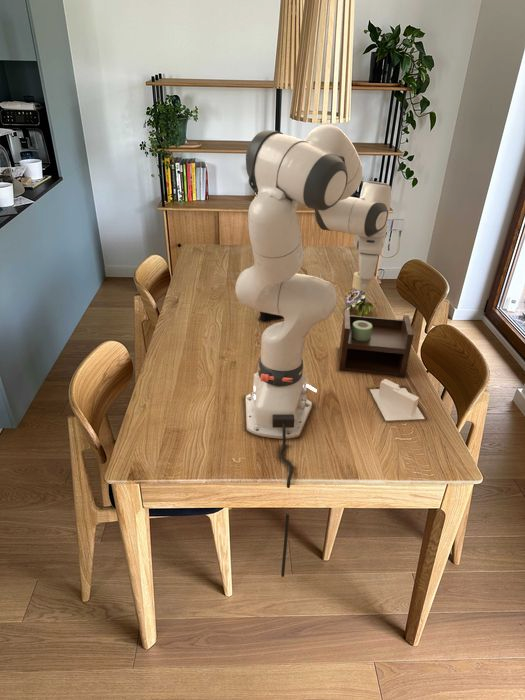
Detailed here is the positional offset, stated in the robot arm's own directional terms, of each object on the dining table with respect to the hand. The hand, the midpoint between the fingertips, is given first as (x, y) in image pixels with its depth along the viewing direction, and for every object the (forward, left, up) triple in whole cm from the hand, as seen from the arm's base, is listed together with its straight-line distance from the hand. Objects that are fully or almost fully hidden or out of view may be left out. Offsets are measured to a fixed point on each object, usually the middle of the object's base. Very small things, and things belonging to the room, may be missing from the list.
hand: (362, 283), depth 151 cm
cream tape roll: (0, 0, -1) cm, 1 cm away
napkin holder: (-24, -12, -26) cm, 37 cm away
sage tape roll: (-4, -1, -16) cm, 16 cm away
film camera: (+26, +29, -26) cm, 47 cm away
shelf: (-3, -6, -26) cm, 27 cm away
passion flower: (+35, -3, -26) cm, 44 cm away
